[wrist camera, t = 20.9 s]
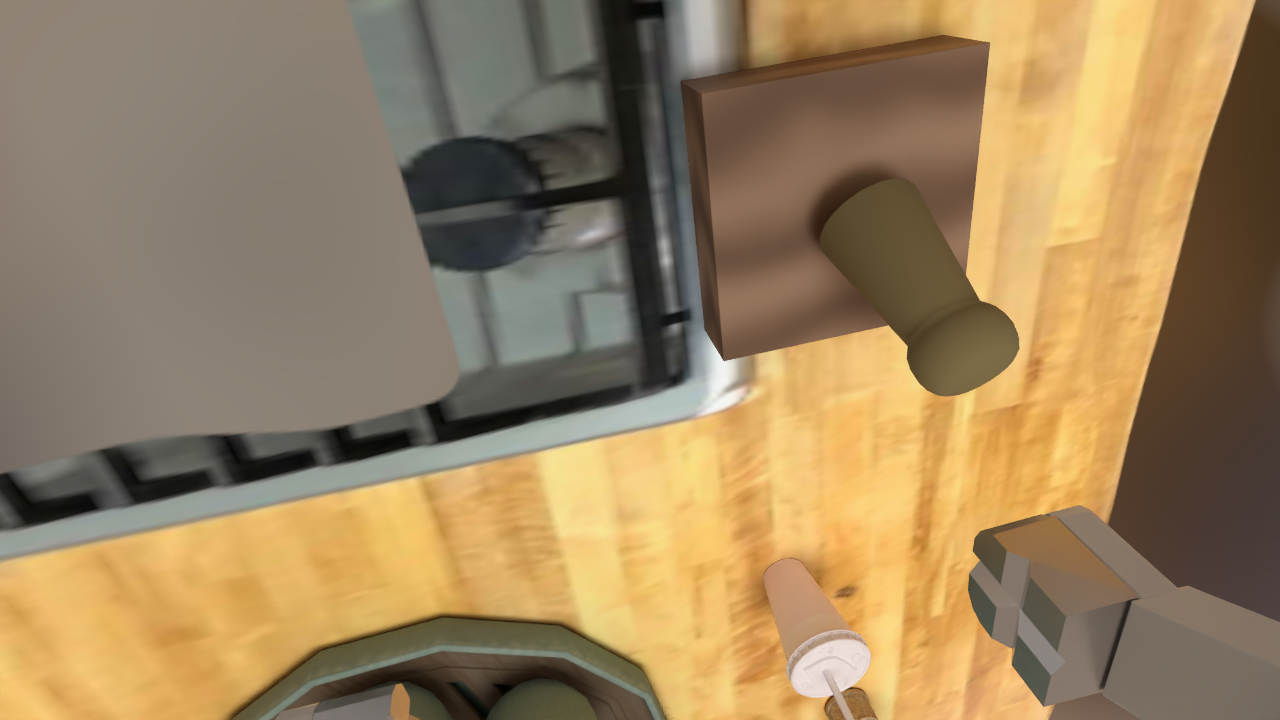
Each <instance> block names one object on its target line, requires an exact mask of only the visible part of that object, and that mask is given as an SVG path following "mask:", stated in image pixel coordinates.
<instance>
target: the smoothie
mask: <svg viewBox="0 0 1280 720" xmlns="http://www.w3.org/2000/svg"><path fill="white" fill-rule="evenodd" d="M763 582H764V585H765V589H766V592H767V596H768V599H769V602H770V606H771V609H772V612H773V616H774V619H775V623H776V626H777V629H778V633H779V636H780V640H781V643H782V646H783V650H784V653H785V657H786V660H787V665H786V674H787V676H788V678H789V680H790V681H791V684H792V686H793V688H794V689H795V690H796V691H797V692H798V693H799V694H801V695H804V696H807V697H814V698H819V697H827V696H831V695H834V697H835V699H836V701H837V703H838V705H839V707H840V709H841V712H842V714H843V716H844V718H845V720H854V718H853V716H852V714H851V712H850V710H849V708H848V706H847V704H846V702H845V700H844V698H843V696H842V694H841V692H842V691H844V690H846V689H848V688H849V687H851V686H852V685H854V684H855V683H856V682H858V681H859V680H860V679H861V678H862V677H863V675H864V674H865V672H866V671H867V669H868V667H869V665H870V661H871V654H870V651H869V649H868V647H867V645H866V643H865V640H864V639H863V638H862V637H861V635H860V634H858V633H856V632H854V631H852V629H851V628H850V627H849V625H848V624H847V622H846V621H845V620H844V619H843V617H842V616H841V615H840V613H839V612H838V611H837V609H836V608H835V607H834V605H833V604H832V603H831V601H830V600H829V599H828V597H827V596H826V595H825V593H824V592H823V591H822V589H821V588H820V587H819V585H818V584H817V583H816V581H815V580H814V579H813V577H812V576H811V575H810V573H809V572H808V571H807V569H806V568H805V567H804V565H803V564H802V563H801V562H800V561H798V560H796V559H783V560H780V561H777V562H775V563H774V564H772V565H771V566H770V567H769V568H768V569H767V570H766V572H765V574H764V577H763Z"/></svg>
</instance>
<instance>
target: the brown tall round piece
mask: <svg viewBox="0 0 1280 720" xmlns="http://www.w3.org/2000/svg"><path fill="white" fill-rule="evenodd" d="M820 249H821V250H822V251H823V253H824V254H825V255H826V256H827V257H828V259H829V260H830V261H831V262H832V263H833V264H834V265H835V266H836V267H837V269H838V270H839V271H840V272H841V273H842V274H843V275H844V276H845V277H846V278H847V280H848V281H849V282H850V283H851V284H852V285H853V286H854V287H855V288H856V290H857V291H858V292H859V293H860V294H861V295H862V296H863V297H864V298H865V299H866V301H867V302H868V303H869V304H870V305H871V306H872V307H873V308H874V309H875V311H876V312H877V313H878V314H879V315H880V316H881V317H882V318H883V319H884V320H885V322H886V323H887V324H888V325H889V326H890V327H891V328H892V329H893V330H894V332H895V333H896V334H897V335H898V336H899V337H900V338H901V339H902V340H903V341H904V343H905V344H906V345H907V346H908V351H907V361H908V364H909V367H910V370H911V371H912V373H913V374H914V376H915V378H916V379H917V380H918V382H919V383H920V384H921V385H922V386H923V387H924V388H925V389H926V390H927V391H930V392H932V393H934V394H936V395H939V396H954V395H960V394H963V393H966V392H969V391H971V390H973V389H975V388H977V387H979V386H981V385H983V384H985V383H987V382H988V381H990V380H991V379H993V378H994V377H996V376H997V375H999V374H1000V373H1001V372H1002V371H1004V370H1005V369H1006V368H1007V367H1008V366H1009V365H1010V364H1011V363H1012V362H1013V360H1014V358H1015V357H1016V355H1017V353H1018V350H1019V337H1018V333H1017V331H1016V328H1015V326H1014V324H1013V322H1012V321H1011V320H1010V318H1009V317H1008V316H1007V315H1006V314H1005V313H1004V312H1003V311H1001V310H1000V309H999V308H997V307H996V306H994V305H992V304H989V303H985V302H982V301H980V300H979V298H978V296H977V294H976V293H975V291H974V289H973V287H972V286H971V284H970V282H969V280H968V278H967V277H966V275H965V273H964V271H963V269H962V268H961V266H960V264H959V262H958V260H957V259H956V257H955V255H954V253H953V252H952V250H951V248H950V246H949V244H948V243H947V241H946V239H945V237H944V235H943V234H942V232H941V230H940V228H939V227H938V225H937V223H936V221H935V219H934V218H933V216H932V214H931V212H930V210H929V209H928V207H927V205H926V203H925V201H924V200H923V198H922V196H921V194H920V193H919V191H918V189H917V187H916V185H915V184H914V183H912V182H910V181H909V180H907V179H890V180H886V181H881V182H878V183H876V184H874V185H871V186H869V187H867V188H865V189H863V190H861V191H860V192H858V193H857V194H855V195H854V196H852V197H851V198H849V199H848V200H847V201H846V202H844V203H843V204H842V205H841V206H840V207H839V208H838V209H837V210H836V211H835V212H834V213H833V214H832V216H831V217H830V219H829V220H828V221H827V223H826V224H825V226H824V228H823V230H822V233H821V236H820Z"/></svg>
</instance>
